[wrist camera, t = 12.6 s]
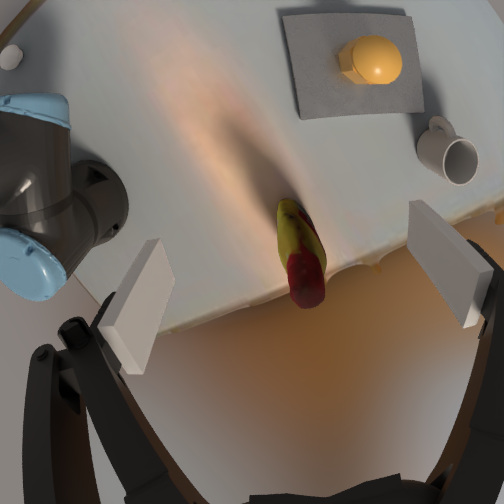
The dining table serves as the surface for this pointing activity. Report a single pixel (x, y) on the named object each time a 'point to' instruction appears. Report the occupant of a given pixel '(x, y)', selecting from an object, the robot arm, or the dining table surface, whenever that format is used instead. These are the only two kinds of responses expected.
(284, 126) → the dining table surface
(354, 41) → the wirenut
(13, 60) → the mushroom
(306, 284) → the bottle
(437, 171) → the cup
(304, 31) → the plate
